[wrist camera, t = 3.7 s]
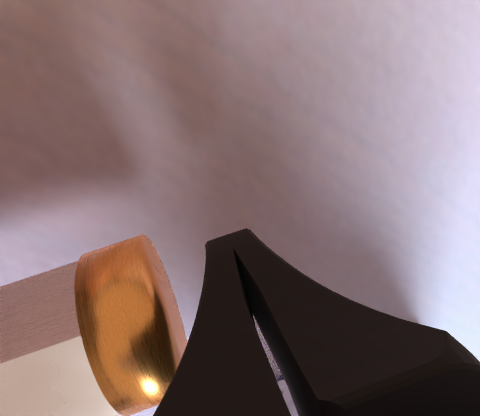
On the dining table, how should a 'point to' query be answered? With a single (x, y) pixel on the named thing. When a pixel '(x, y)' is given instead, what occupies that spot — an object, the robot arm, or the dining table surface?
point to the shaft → (90, 335)
